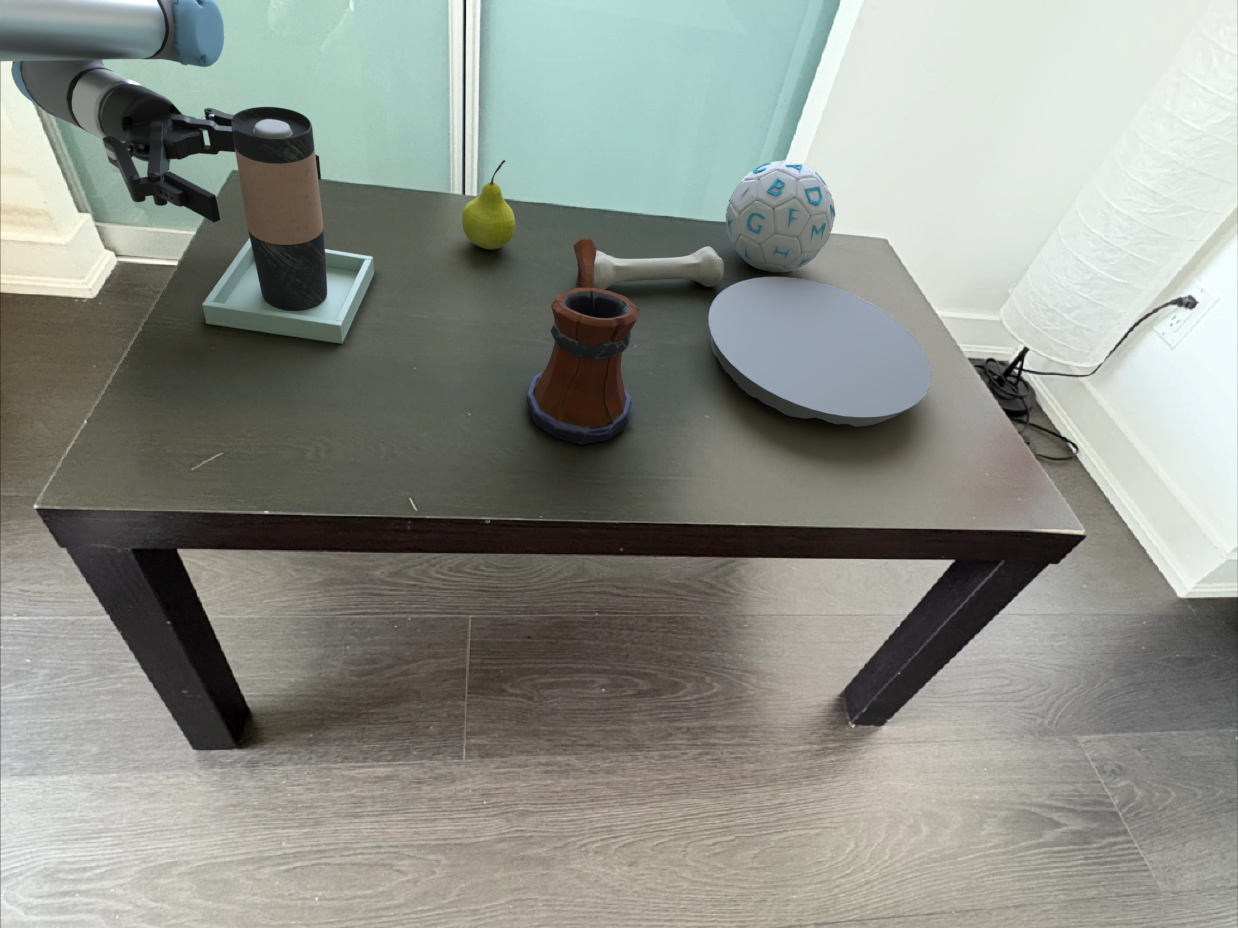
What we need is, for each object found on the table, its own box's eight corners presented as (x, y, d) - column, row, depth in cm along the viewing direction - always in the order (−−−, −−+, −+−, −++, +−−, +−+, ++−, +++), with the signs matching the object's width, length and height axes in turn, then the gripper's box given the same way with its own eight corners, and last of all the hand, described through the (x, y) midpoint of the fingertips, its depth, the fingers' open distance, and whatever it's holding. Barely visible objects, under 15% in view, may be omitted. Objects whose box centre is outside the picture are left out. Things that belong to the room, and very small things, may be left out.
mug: (522, 339, 94) (534, 225, 84) (616, 346, 96) (639, 235, 86) (527, 444, 82) (541, 326, 71) (635, 449, 84) (665, 335, 73)
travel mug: (343, 289, 94) (329, 121, 80) (302, 320, 89) (279, 147, 75) (288, 268, 95) (264, 99, 81) (244, 297, 90) (211, 122, 76)
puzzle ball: (830, 270, 119) (869, 176, 108) (780, 304, 110) (817, 205, 99) (748, 226, 124) (777, 132, 114) (694, 256, 115) (720, 156, 104)
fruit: (468, 261, 104) (472, 174, 95) (455, 234, 108) (457, 148, 100) (518, 257, 106) (526, 173, 98) (503, 231, 111) (510, 148, 102)
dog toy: (585, 299, 102) (591, 266, 99) (573, 273, 106) (578, 240, 102) (724, 294, 109) (734, 263, 105) (708, 270, 113) (717, 239, 109)
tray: (342, 343, 88) (340, 325, 86) (206, 323, 86) (201, 304, 84) (374, 274, 98) (373, 256, 96) (253, 254, 97) (249, 236, 95)
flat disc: (749, 454, 86) (761, 424, 83) (670, 305, 105) (678, 276, 101) (957, 437, 95) (975, 410, 92) (851, 303, 113) (863, 276, 110)
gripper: (228, 122, 100) (356, 184, 95) (32, 183, 83) (173, 262, 78) (217, 59, 95) (352, 121, 89) (5, 111, 78) (155, 191, 73)
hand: (269, 187), depth 84 cm, fingers open, 13 cm apart
